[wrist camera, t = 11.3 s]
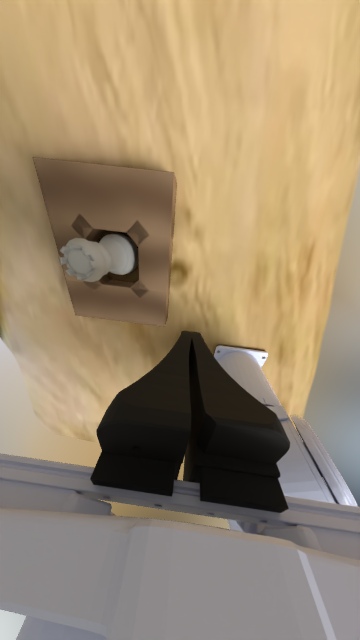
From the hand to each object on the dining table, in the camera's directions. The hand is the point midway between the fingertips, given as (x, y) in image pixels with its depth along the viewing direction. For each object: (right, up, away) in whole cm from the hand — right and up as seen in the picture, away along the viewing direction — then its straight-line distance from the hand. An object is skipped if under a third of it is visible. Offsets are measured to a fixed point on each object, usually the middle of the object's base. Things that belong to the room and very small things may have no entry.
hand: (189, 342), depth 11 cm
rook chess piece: (-8, +10, +7) cm, 14 cm away
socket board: (-8, +9, +7) cm, 14 cm away
